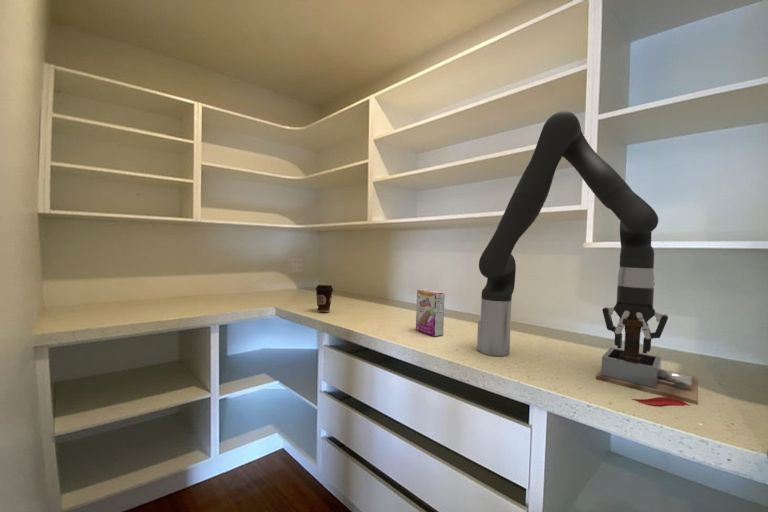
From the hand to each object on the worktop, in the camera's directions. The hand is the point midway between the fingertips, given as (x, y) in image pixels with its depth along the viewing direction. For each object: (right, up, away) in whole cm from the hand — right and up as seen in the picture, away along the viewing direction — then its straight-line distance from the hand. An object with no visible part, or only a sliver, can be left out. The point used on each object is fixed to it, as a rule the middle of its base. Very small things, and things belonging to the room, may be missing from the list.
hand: (632, 349), depth 85 cm
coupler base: (+4, -8, 0) cm, 9 cm away
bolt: (0, -7, 0) cm, 7 cm away
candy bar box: (-47, -6, +42) cm, 64 cm away
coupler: (+4, -7, 0) cm, 8 cm away
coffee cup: (-95, -3, +79) cm, 124 cm away
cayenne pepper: (-4, -9, -13) cm, 16 cm away
